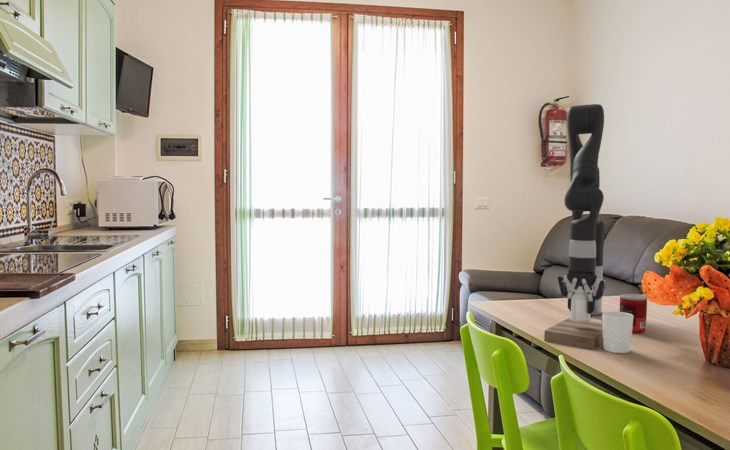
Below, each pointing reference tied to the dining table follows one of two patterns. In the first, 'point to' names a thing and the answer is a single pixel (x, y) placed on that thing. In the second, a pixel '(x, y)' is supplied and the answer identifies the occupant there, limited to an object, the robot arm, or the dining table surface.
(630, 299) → the canned food
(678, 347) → the dining table surface
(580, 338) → the walnut base board
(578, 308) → the eye dropper bottle
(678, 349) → the dining table surface
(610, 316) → the white cup
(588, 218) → the robot arm
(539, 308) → the dining table surface
